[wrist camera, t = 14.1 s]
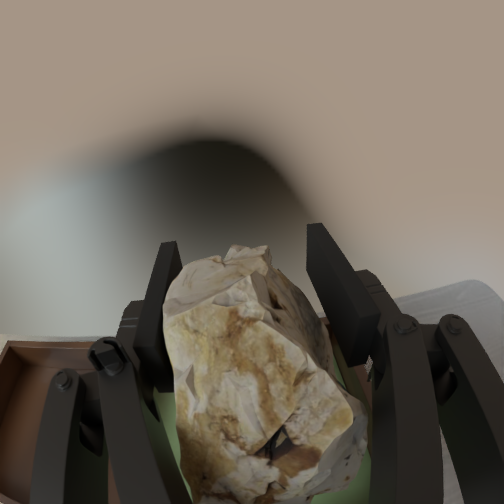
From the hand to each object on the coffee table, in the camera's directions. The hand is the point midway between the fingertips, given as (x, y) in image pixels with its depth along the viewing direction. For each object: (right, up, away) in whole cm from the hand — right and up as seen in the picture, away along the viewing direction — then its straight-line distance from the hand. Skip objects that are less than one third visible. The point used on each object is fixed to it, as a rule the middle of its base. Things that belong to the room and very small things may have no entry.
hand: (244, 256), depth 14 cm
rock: (+1, -8, -1) cm, 8 cm away
